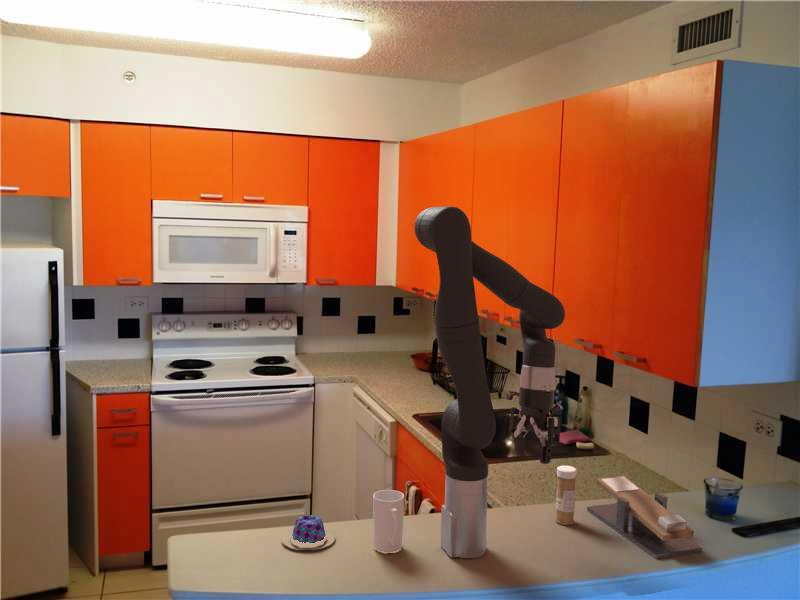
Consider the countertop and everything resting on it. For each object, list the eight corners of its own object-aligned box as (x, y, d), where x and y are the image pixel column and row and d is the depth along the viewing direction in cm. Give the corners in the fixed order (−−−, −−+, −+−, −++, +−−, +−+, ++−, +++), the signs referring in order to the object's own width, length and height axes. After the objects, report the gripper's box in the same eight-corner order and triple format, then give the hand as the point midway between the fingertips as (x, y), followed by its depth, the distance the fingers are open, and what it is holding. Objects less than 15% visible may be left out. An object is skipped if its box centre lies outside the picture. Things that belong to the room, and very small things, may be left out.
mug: (369, 542, 161) (370, 491, 160) (398, 539, 163) (399, 488, 161) (380, 563, 151) (381, 508, 150) (411, 559, 153) (412, 505, 152)
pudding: (346, 540, 163) (346, 517, 162) (309, 559, 153) (309, 536, 153) (307, 526, 170) (307, 504, 169) (270, 543, 160) (270, 521, 160)
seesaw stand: (656, 559, 155) (657, 523, 154) (586, 510, 181) (588, 479, 180) (701, 551, 159) (704, 517, 158) (627, 505, 184) (629, 475, 183)
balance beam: (661, 540, 156) (663, 527, 155) (595, 482, 180) (597, 471, 179) (693, 536, 158) (696, 523, 158) (624, 479, 182) (626, 468, 182)
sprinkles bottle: (552, 518, 176) (554, 464, 174) (570, 517, 176) (572, 464, 175) (558, 526, 171) (560, 471, 170) (577, 525, 172) (579, 471, 170)
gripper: (503, 381, 164) (498, 452, 165) (545, 391, 152) (540, 467, 152) (528, 381, 168) (524, 450, 168) (572, 390, 156) (566, 465, 156)
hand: (531, 458), depth 160 cm, fingers open, 8 cm apart
